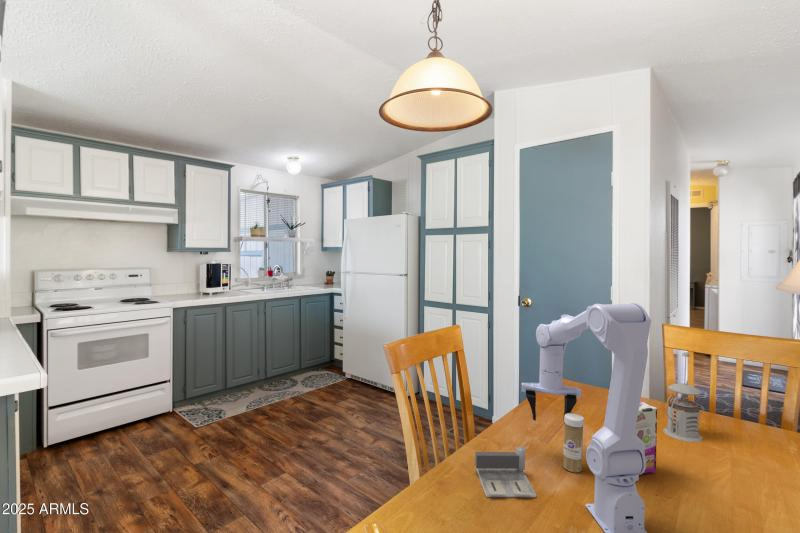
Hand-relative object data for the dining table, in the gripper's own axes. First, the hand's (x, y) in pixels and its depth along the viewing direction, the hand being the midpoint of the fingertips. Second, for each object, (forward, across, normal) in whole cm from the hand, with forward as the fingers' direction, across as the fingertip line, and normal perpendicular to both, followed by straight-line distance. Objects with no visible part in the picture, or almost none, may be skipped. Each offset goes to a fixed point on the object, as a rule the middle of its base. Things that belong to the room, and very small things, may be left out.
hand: (549, 420), depth 106 cm
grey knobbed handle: (+9, +12, +12) cm, 19 cm away
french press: (+10, -39, -26) cm, 48 cm away
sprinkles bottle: (+10, -5, +4) cm, 12 cm away
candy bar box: (+10, -19, +1) cm, 22 cm away
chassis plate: (+10, +11, +15) cm, 21 cm away
